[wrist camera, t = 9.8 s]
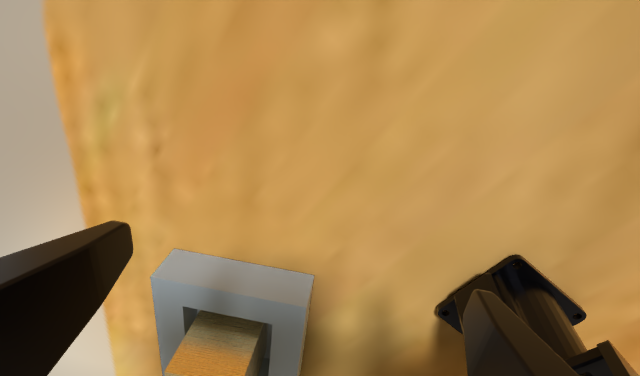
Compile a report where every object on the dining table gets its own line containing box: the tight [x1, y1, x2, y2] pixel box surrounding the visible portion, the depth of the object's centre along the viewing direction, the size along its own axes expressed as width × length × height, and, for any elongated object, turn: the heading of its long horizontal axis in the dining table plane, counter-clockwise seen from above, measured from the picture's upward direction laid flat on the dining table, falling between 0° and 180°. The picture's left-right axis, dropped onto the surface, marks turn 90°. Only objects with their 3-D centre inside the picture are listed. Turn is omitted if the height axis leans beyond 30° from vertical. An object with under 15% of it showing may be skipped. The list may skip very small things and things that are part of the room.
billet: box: [164, 310, 268, 376], centre depth 24 cm, size 4×4×6 cm
